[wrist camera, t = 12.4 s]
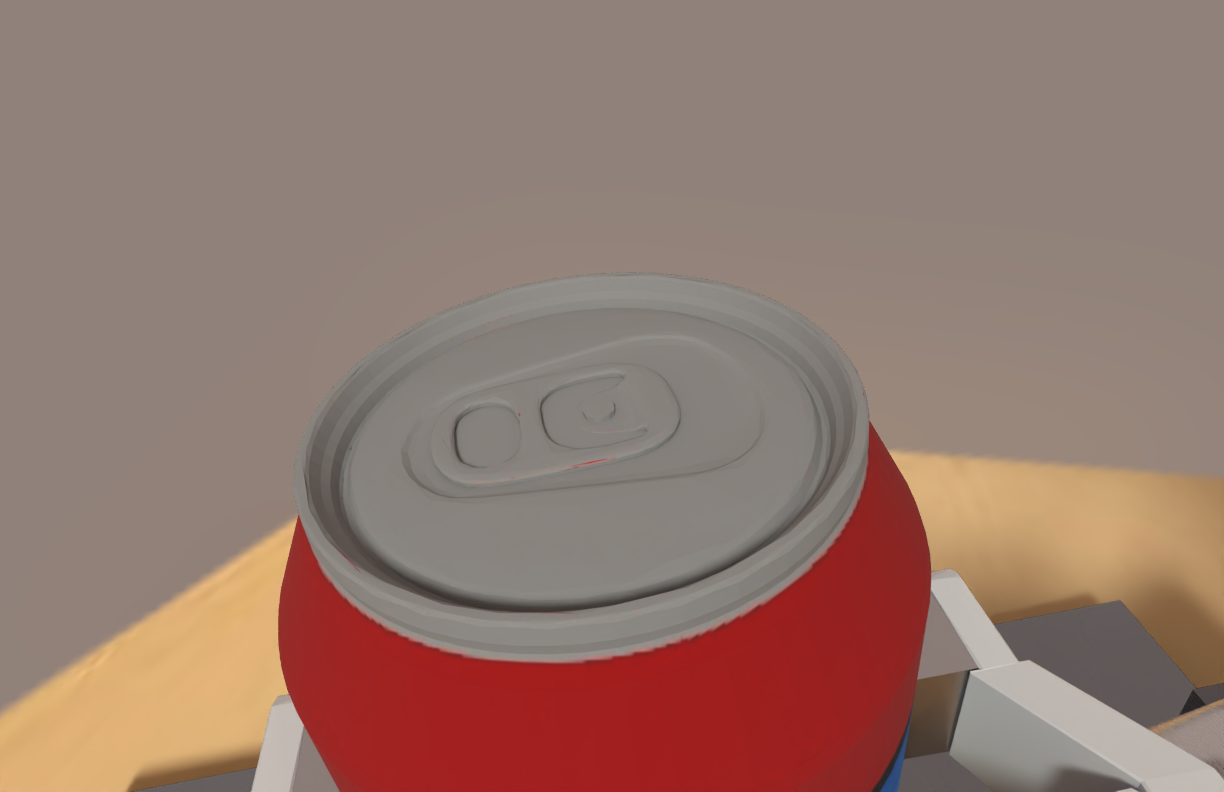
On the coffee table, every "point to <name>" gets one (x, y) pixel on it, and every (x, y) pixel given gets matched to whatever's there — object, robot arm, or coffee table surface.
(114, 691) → the coffee table surface
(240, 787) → the shaft bed
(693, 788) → the beverage can
